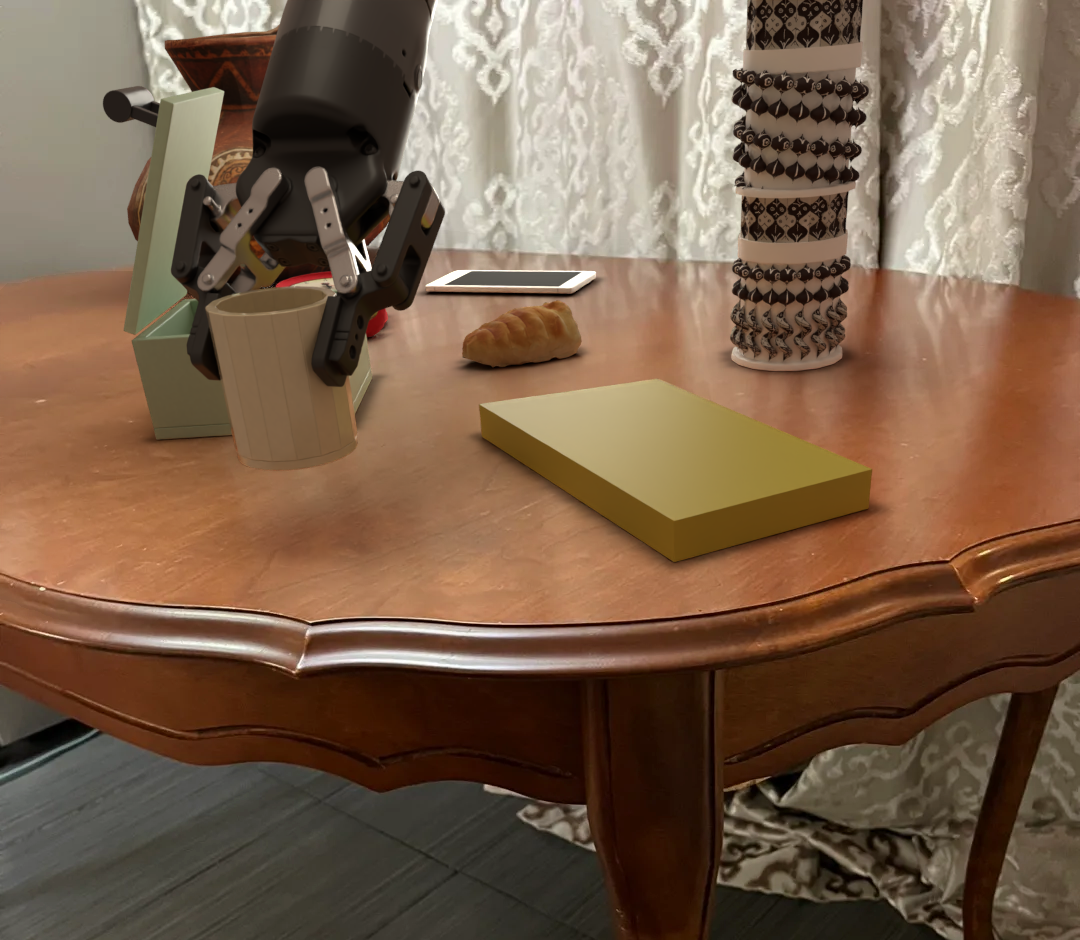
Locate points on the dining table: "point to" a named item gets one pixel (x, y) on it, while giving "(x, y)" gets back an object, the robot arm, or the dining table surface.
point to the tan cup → (279, 379)
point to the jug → (227, 115)
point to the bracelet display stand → (795, 180)
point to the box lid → (165, 187)
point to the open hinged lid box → (196, 379)
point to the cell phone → (512, 281)
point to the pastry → (525, 336)
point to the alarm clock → (327, 282)
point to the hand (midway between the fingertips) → (266, 374)
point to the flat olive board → (676, 465)
